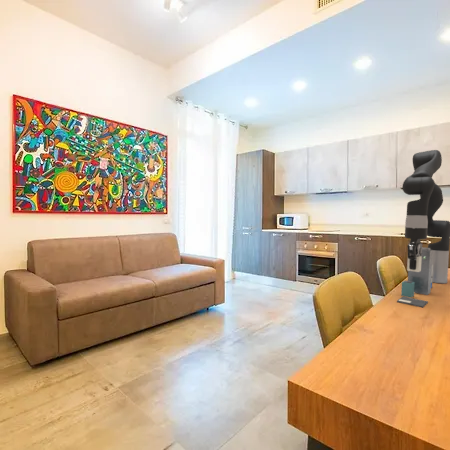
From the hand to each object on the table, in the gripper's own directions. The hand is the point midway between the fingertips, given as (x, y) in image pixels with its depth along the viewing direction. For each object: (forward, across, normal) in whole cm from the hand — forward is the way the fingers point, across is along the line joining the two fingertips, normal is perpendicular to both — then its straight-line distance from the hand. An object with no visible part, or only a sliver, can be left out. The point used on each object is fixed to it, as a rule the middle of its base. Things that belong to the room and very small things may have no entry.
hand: (414, 268), depth 117 cm
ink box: (+14, -34, -4) cm, 37 cm away
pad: (+14, 0, 0) cm, 14 cm away
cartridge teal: (+14, -10, -4) cm, 18 cm away
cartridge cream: (+1, 0, 0) cm, 1 cm away
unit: (+14, -21, -2) cm, 25 cm away
